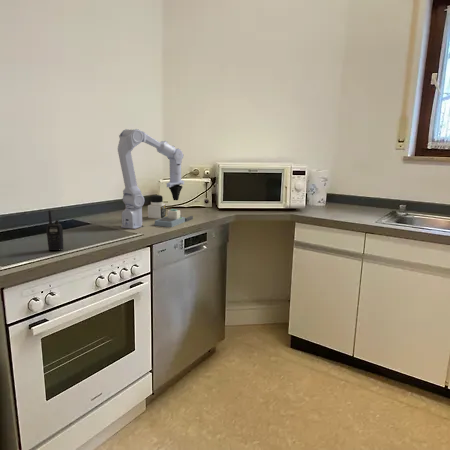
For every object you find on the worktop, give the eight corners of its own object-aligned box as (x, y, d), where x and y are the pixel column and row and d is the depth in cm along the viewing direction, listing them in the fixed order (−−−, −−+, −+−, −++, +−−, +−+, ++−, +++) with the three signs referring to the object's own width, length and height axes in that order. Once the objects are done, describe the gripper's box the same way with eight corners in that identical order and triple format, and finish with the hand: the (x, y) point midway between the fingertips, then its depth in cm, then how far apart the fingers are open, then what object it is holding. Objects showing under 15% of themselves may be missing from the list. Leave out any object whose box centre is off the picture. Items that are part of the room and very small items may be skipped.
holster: (186, 223, 193) (186, 218, 193) (172, 221, 196) (172, 217, 196) (193, 220, 200) (193, 216, 199) (179, 218, 203) (179, 214, 202)
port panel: (171, 228, 181) (171, 222, 180) (154, 226, 184) (154, 220, 183) (185, 223, 193) (185, 216, 192) (168, 221, 196) (168, 215, 195)
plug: (176, 224, 188) (176, 210, 187) (167, 223, 190) (167, 209, 189) (180, 222, 192) (180, 209, 190) (171, 221, 194) (171, 208, 192)
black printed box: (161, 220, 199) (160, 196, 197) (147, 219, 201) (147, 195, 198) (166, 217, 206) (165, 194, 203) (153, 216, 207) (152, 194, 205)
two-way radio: (47, 251, 143) (43, 211, 140) (50, 248, 147) (46, 208, 144) (63, 251, 144) (59, 210, 141) (65, 248, 148) (62, 208, 145)
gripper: (175, 174, 188) (175, 202, 191) (189, 172, 202) (189, 198, 204) (162, 173, 191) (163, 201, 194) (177, 171, 204) (177, 197, 207)
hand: (175, 200), depth 199 cm, fingers closed
